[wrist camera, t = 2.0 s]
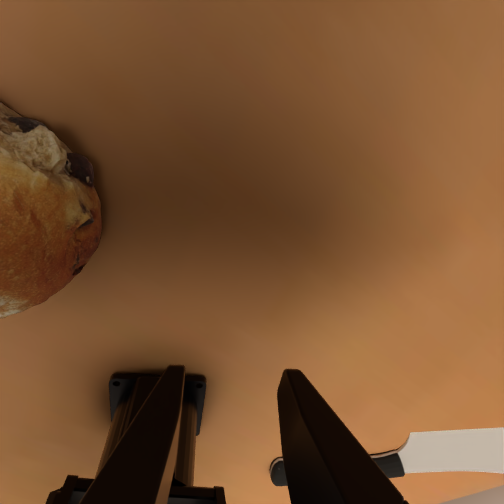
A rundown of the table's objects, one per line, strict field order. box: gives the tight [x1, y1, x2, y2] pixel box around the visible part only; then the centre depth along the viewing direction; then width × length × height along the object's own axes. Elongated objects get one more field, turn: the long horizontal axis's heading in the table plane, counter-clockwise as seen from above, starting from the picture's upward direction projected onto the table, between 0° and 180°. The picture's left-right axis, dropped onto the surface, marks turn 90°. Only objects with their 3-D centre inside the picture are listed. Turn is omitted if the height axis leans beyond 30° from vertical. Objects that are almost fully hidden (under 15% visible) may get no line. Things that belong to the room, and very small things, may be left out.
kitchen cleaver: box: [270, 428, 504, 486], centre depth 30 cm, size 31×2×10 cm
